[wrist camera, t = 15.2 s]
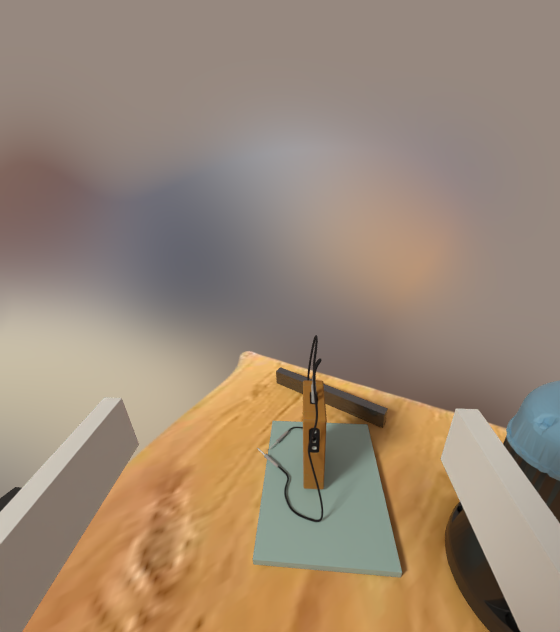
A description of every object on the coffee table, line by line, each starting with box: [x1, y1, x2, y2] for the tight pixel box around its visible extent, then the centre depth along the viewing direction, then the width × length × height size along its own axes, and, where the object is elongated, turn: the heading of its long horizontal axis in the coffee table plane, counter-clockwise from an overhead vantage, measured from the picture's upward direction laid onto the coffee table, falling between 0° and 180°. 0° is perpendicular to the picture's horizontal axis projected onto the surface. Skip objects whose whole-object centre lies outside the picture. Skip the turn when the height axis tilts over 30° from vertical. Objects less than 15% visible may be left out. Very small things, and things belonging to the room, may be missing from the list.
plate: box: [253, 421, 402, 577], centre depth 40 cm, size 16×20×1 cm
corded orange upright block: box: [257, 335, 327, 522], centre depth 37 cm, size 15×10×20 cm
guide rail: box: [276, 368, 387, 428], centre depth 54 cm, size 22×2×3 cm, turn 55°
